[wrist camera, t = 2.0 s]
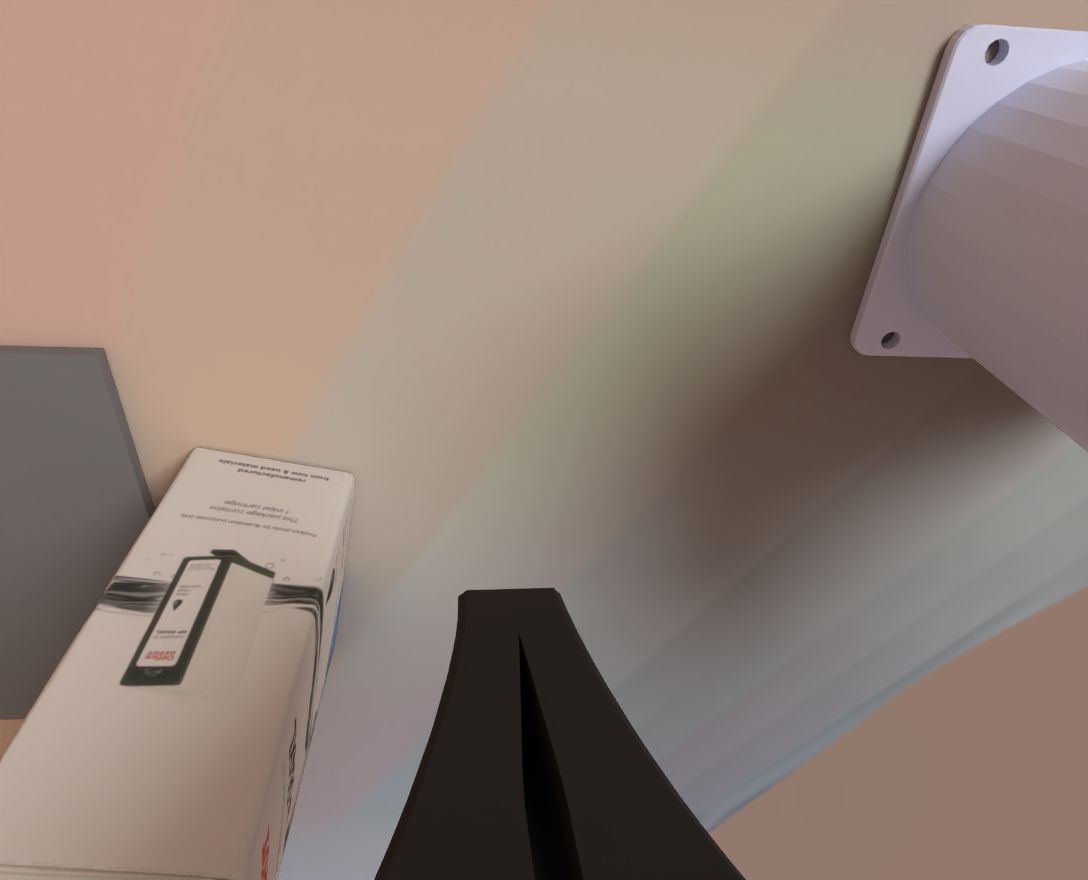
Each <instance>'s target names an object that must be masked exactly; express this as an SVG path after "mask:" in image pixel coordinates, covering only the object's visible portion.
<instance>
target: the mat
mask: <svg viewBox="0 0 1088 880" xmlns="http://www.w3.org/2000/svg"><path fill="white" fill-rule="evenodd" d="M154 512H155V510H154V507H153V503H152V500H151V497H150V494H149V491H148V488H147V484H146V481H145V478H144V475H143V472H142V468H141V465H140V462H139V459H138V456H137V453H136V449H135V446H134V443H133V440H132V437H131V434H130V430H129V427H128V424H127V421H126V418H125V414H124V411H123V408H122V405H121V402H120V399H119V395H118V392H117V389H116V386H115V383H114V380H113V376H112V373H111V370H110V367H109V364H108V360H107V357H106V354H105V351H104V348H70V347H29V346H0V719H25V718H26V716H27V715H28V713H29V711H30V710H31V708H32V707H33V705H34V703H35V702H36V700H37V698H38V697H39V695H40V694H41V692H42V690H43V689H44V687H45V685H46V684H47V682H48V681H49V679H50V677H51V676H52V674H53V672H54V671H55V669H56V668H57V666H58V664H59V663H60V661H61V660H62V658H63V656H64V655H65V653H66V652H67V650H68V649H69V647H70V645H71V644H72V642H73V641H74V639H75V637H76V636H77V634H78V633H79V631H80V630H81V628H82V626H83V625H84V623H85V622H86V620H87V618H88V617H89V615H90V614H91V612H92V610H93V609H94V607H95V606H96V604H97V603H98V601H99V599H100V598H101V596H102V594H103V593H104V591H105V589H106V588H107V586H108V585H109V583H110V582H111V580H112V578H113V577H114V575H115V574H116V572H117V570H118V569H119V567H120V566H121V564H122V562H123V561H124V559H125V557H126V556H127V554H128V553H129V551H130V550H131V548H132V546H133V545H134V543H135V542H136V540H137V539H138V537H139V535H140V534H141V532H142V531H143V529H144V527H145V526H146V524H147V523H148V521H149V520H150V518H151V516H152V515H153V513H154Z"/></svg>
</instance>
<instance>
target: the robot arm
mask: <svg viewBox="0 0 1088 880" xmlns="http://www.w3.org/2000/svg"><path fill="white" fill-rule="evenodd" d="M995 40H998V42H999V44H1000V45H999V52H998V53H997V55H996V57H995V58H994V59H993V60H992V61H990V62H989V63H986V61H985V59H984V58H985V51H986V50H987V48H988V46H989V45H990V44H991V43H992V42H994V41H995ZM890 332H894V335H893V337H892V339H891V340H889V341H888V342H886V343H882V344H881V340H882V339H883V337H884V336H885V335H886V334H888V333H890ZM850 342H851V345H852V346H853V348H854V349H855V350H856V351H858V352H859V353H860V354H862V355H867V356H903V357H942V358H973V359H975V360H976V361H977V362H978V363H979V364H981V365H982V366H983V367H984V368H986V369H987V370H988V371H989V372H990V373H992V374H993V375H994V376H995V377H997V378H998V379H999V380H1000V381H1001V382H1003V383H1004V384H1005V385H1006V386H1008V387H1009V388H1010V389H1011V390H1012V391H1014V392H1015V393H1016V394H1017V395H1019V396H1020V397H1021V398H1022V399H1023V400H1025V401H1026V402H1027V403H1028V404H1029V405H1031V406H1032V407H1033V408H1034V409H1036V410H1037V411H1038V412H1039V413H1040V414H1042V415H1043V416H1044V417H1045V418H1047V419H1048V420H1049V421H1050V422H1051V423H1053V424H1054V425H1055V426H1056V427H1058V428H1059V429H1060V430H1061V431H1062V432H1064V433H1065V434H1066V435H1067V436H1069V437H1070V438H1071V439H1072V440H1073V441H1075V442H1076V443H1077V444H1078V445H1080V446H1081V447H1082V448H1083V449H1084V450H1086V451H1087V452H1088V31H1074V30H1060V29H1046V28H1032V27H1018V26H1004V25H990V24H969V25H966V26H964V27H962V28H961V29H959V30H957V32H956V33H955V34H954V35H953V36H952V37H951V38H950V40H949V42H948V44H947V46H946V48H945V51H944V54H943V57H942V60H941V63H940V66H939V69H938V72H937V75H936V78H935V81H934V84H933V87H932V90H931V93H930V96H929V99H928V102H927V105H926V108H925V111H924V114H923V117H922V120H921V123H920V126H919V129H918V132H917V135H916V138H915V141H914V144H913V147H912V150H911V153H910V156H909V159H908V162H907V165H906V169H905V172H904V175H903V178H902V181H901V184H900V187H899V190H898V193H897V196H896V199H895V202H894V205H893V208H892V211H891V214H890V217H889V220H888V223H887V226H886V229H885V232H884V235H883V238H882V241H881V244H880V247H879V250H878V253H877V256H876V259H875V262H874V265H873V268H872V271H871V274H870V277H869V280H868V283H867V286H866V289H865V292H864V295H863V298H862V301H861V304H860V307H859V310H858V313H857V316H856V319H855V322H854V325H853V328H852V331H851V334H850ZM374 880H746V879H745V878H744V877H743V876H742V875H741V873H740V872H739V871H738V870H737V869H736V867H735V866H734V865H733V864H732V863H731V861H730V860H729V859H728V858H727V857H726V855H725V854H724V853H723V851H722V850H721V849H720V848H719V846H718V845H717V844H716V843H715V841H714V840H713V839H712V838H711V836H710V835H709V834H708V832H707V831H706V830H705V829H704V827H703V826H702V825H701V824H700V822H699V821H698V820H697V818H696V817H695V816H694V814H693V813H692V812H691V810H690V809H689V808H688V806H687V805H686V804H685V802H684V801H683V799H682V798H681V797H680V795H679V794H678V793H677V791H676V790H675V789H674V787H673V786H672V784H671V783H670V781H669V780H668V779H667V777H666V776H665V774H664V773H663V771H662V770H661V769H660V767H659V766H658V764H657V763H656V761H655V760H654V758H653V757H652V756H651V754H650V753H649V751H648V750H647V748H646V747H645V745H644V744H643V742H642V741H641V739H640V738H639V736H638V734H637V733H636V731H635V730H634V728H633V727H632V725H631V724H630V722H629V720H628V719H627V717H626V715H625V714H624V712H623V711H622V709H621V707H620V706H619V704H618V702H617V701H616V699H615V698H614V696H613V694H612V693H611V691H610V690H609V688H608V686H607V684H606V683H605V681H604V679H603V678H602V676H601V674H600V672H599V671H598V669H597V667H596V665H595V663H594V662H593V660H592V658H591V656H590V654H589V653H588V651H587V649H586V647H585V645H584V643H583V641H582V639H581V637H580V636H579V634H578V632H577V630H576V628H575V626H574V624H573V622H572V620H571V617H570V615H569V613H568V611H567V609H566V607H565V604H564V602H563V600H562V597H561V595H560V593H558V592H557V591H556V590H555V589H554V588H532V589H496V590H467V591H465V592H464V593H463V594H461V595H460V596H459V597H458V622H457V630H456V637H455V643H454V648H453V653H452V657H451V662H450V666H449V671H448V675H447V679H446V683H445V686H444V690H443V693H442V697H441V700H440V704H439V707H438V711H437V714H436V718H435V721H434V725H433V728H432V731H431V734H430V737H429V740H428V743H427V746H426V749H425V752H424V754H423V757H422V760H421V763H420V766H419V768H418V771H417V774H416V777H415V780H414V783H413V785H412V788H411V791H410V794H409V797H408V799H407V802H406V804H405V807H404V809H403V812H402V815H401V817H400V820H399V822H398V825H397V827H396V830H395V832H394V834H393V837H392V839H391V842H390V844H389V847H388V849H387V851H386V854H385V856H384V858H383V861H382V863H381V865H380V868H379V870H378V872H377V875H376V877H375V879H374Z"/></svg>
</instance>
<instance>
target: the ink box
mask: <svg viewBox="0 0 1088 880" xmlns="http://www.w3.org/2000/svg"><path fill="white" fill-rule="evenodd" d="M354 490H355V477H354V476H353V475H352V474H350V473H347V472H343V471H335V470H329V469H323V468H318V467H311V466H304V465H298V464H293V463H287V462H282V461H276V460H271V459H265V458H258V457H252V456H247V455H241V454H234V453H228V452H221V451H215V450H210V449H205V448H195V449H194V450H192V452H191V453H190V455H189V456H188V458H187V459H186V461H185V462H184V464H183V466H182V467H181V469H180V471H179V473H178V474H177V476H176V477H175V479H174V481H173V482H172V484H171V486H170V487H169V489H168V491H167V492H166V494H165V495H164V497H163V499H162V500H161V502H160V504H159V505H158V507H157V508H156V510H155V512H154V513H153V515H152V516H151V518H150V520H149V521H148V523H147V524H146V526H145V527H144V529H143V531H142V532H141V534H140V535H139V537H138V539H137V540H136V542H135V543H134V545H133V546H132V548H131V550H130V551H129V553H128V554H127V556H126V557H125V559H124V561H123V562H122V564H121V566H120V567H119V569H118V570H117V572H116V574H115V575H114V577H113V578H112V580H111V582H110V583H109V585H108V586H107V588H106V589H105V591H104V593H103V594H102V596H101V598H100V599H99V601H98V603H97V604H96V606H95V607H94V609H93V610H92V612H91V614H90V615H89V617H88V618H87V620H86V622H85V623H84V625H83V626H82V628H81V630H80V631H79V633H78V634H77V636H76V637H75V639H74V641H73V642H72V644H71V645H70V647H69V649H68V650H67V652H66V653H65V655H64V656H63V658H62V660H61V661H60V663H59V664H58V666H57V668H56V669H55V671H54V672H53V674H52V676H51V677H50V679H49V681H48V682H47V684H46V685H45V687H44V689H43V690H42V692H41V694H40V695H39V697H38V698H37V700H36V702H35V703H34V705H33V707H32V708H31V710H30V711H29V713H28V715H27V716H26V718H25V720H24V721H23V723H22V724H21V726H20V728H19V729H18V731H17V733H16V734H15V736H14V737H13V739H12V741H11V742H10V744H9V746H8V747H7V749H6V751H5V752H4V754H3V755H2V757H1V759H0V880H277V878H278V874H279V870H280V866H281V862H282V858H283V854H284V850H285V846H286V841H287V837H288V833H289V829H290V825H291V821H292V818H293V813H294V809H295V805H296V800H297V796H298V792H299V788H300V784H301V780H302V776H303V772H304V768H305V764H306V760H307V755H308V751H309V747H310V743H311V739H312V734H313V730H314V726H315V721H316V717H317V713H318V709H319V705H320V701H321V697H322V693H323V689H324V685H325V681H326V677H327V673H328V669H329V666H330V662H331V658H332V654H333V650H334V644H335V638H336V631H337V624H338V616H339V609H340V601H341V593H342V585H343V577H344V569H345V560H346V553H347V546H348V539H349V532H350V523H351V515H352V508H353V500H354Z"/></svg>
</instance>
